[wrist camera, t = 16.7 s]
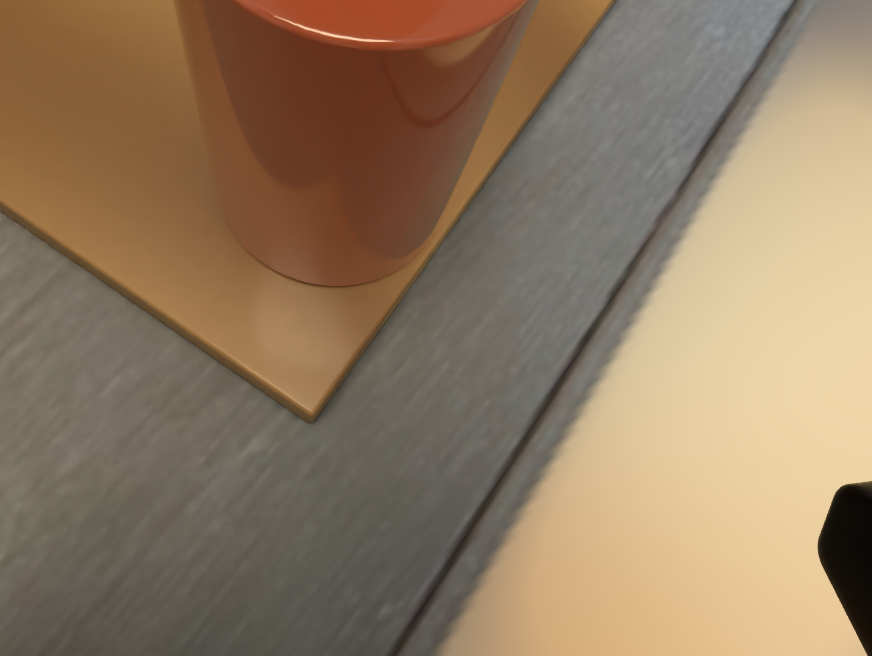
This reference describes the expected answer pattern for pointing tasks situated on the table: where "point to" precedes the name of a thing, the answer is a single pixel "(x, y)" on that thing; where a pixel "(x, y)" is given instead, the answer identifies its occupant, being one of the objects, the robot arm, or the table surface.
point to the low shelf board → (203, 185)
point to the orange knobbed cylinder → (343, 120)
